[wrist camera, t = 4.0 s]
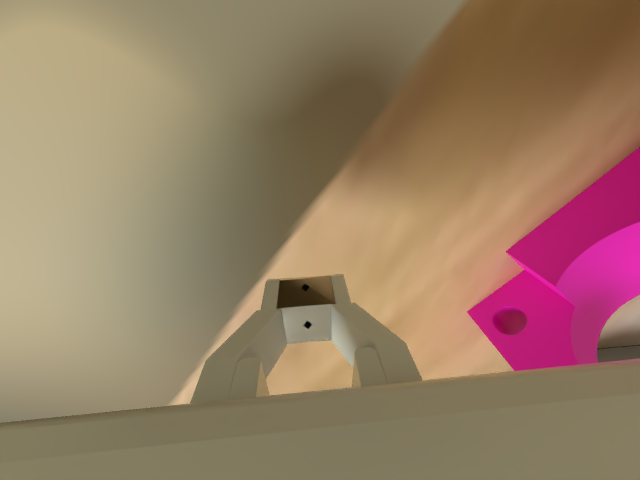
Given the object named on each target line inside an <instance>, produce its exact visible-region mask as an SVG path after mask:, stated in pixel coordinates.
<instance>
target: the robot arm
mask: <svg viewBox="0 0 640 480" xmlns="http://www.w3.org/2000/svg"><path fill="white" fill-rule="evenodd" d="M327 340H332V342H333V343H334V345H335V346H336V347H337V348H338V350H339V351H340V352H341V354H342V355H343V356H344V357H345V359H346V360H347V361H348V362H349V364H350V365H351V366H352V367H353V378H352V387H351V388H341V389H332V390H322V391H312V392H302V393H291V394H281V395H271V396H270V395H269V391H268V387H267V383H266V378H267V376H268V375H269V373H270V372H271V370H272V368H273V367H274V365H275V364H276V362H277V360H278V359H279V357H280V355H281V354H282V352H283V351H284V349H285V347H286V346H287V345H286V344H293V343H301V342H311V341H327ZM0 480H640V359H630V360H620V361H610V362H600V363H590V364H580V365H570V366H560V367H550V368H540V369H530V370H520V371H510V372H500V373H490V374H480V375H470V376H460V377H450V378H440V379H430V380H422V378H421V376H420V374H419V372H418V369H417V367H416V365H415V363H414V361H413V358H412V356H411V354H410V352H409V349H408V347H407V345H406V343H405V342H404V341H403V340H401V339H400V338H399V337H398V336H396V335H395V334H394V333H393V332H391V331H390V330H389V329H387V328H386V327H385V326H384V325H382V324H381V323H380V322H379V321H377V320H376V319H375V318H374V317H372V316H371V315H370V314H369V313H367V312H366V311H365V310H364V309H362V308H361V307H360V306H358V305H357V304H356V303H351V301H350V297H349V293H348V290H347V286H346V282H345V279H344V275H343V274H335V275H328V276H316V277H300V278H281V279H267V281H266V284H265V289H264V295H263V300H262V305H261V310H258V311H256V312H255V313H254V314H253V315H252V316H251V317H250V318H249V319H248V320H247V321H246V322H245V323H244V324H242V325H241V326H240V327H239V328H238V329H237V330H236V331H235V332H234V333H233V334H232V335H231V336H230V337H229V338H228V339H227V340H226V341H225V342H224V343H223V344H222V345H221V346H220V347H219V348H218V349H217V350H216V351H215V352H214V353H213V354H212V355H211V356H210V357H209V358H208V359H207V360H206V362H205V364H204V367H203V370H202V373H201V375H200V378H199V381H198V383H197V386H196V389H195V392H194V394H193V397H192V400H191V402H190V404H181V405H171V406H162V407H151V408H142V409H131V410H121V411H111V412H101V413H91V414H82V415H72V416H61V417H52V418H41V419H31V420H21V421H11V422H1V423H0Z"/></svg>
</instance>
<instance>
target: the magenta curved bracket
mask: <svg viewBox="0 0 640 480" xmlns="http://www.w3.org/2000/svg"><path fill="white" fill-rule="evenodd" d="M506 252H507V253H508V254H509V255H510V256H511V257H512V258H513V259H514V260H515V261H516V262H517V263H518V264H519V265H520V266H521V267H522V268H523V269H524V271H523V272H521V273H520V274H519V275H517V276H516V277H514V278H513V279H512V280H510V281H509V282H508V283H506V284H505V285H503V286H502V287H501V288H499V289H498V290H497V291H495V292H494V293H492V294H491V295H490V296H488V297H487V298H486V299H484V300H483V301H481V302H480V303H479V304H477V305H476V306H474V307H473V308H472V309H470V310H469V311H468V312H467V313H468V314H469V315H470V316H471V318H472V319H473V320H474V321H475V323H476V324H477V325H478V326H479V327H480V329H481V330H482V331H483V332H484V334H485V335H486V336H487V337H488V339H489V340H490V341H491V342H492V343H493V345H494V346H495V347H496V348H497V350H498V351H499V352H500V353H501V355H502V356H503V357H504V358H505V360H506V361H507V362H508V363H509V364H510V366H511V367H512V368H513V369H514V371H520V370H530V369H540V368H550V367H560V366H570V365H580V364H590V363H598V361H597V345H598V339H599V336H600V333H601V330H602V328H603V327H604V325H605V323H606V321H607V320H608V319H609V318H610V316H611V315H612V314H613V313H614V312H615V311H616V310H617V309H618V308H619V307H621V306H622V305H623V304H625V303H626V302H627V301H629V300H631V299H633V298H634V297H636V296H638V295H640V147H639V148H638V149H637V150H635V151H634V152H633V153H632V154H630V155H629V156H628V157H626V158H625V159H624V160H623V161H621V162H620V163H619V164H617V165H616V166H615V167H614V168H612V169H611V170H610V171H609V172H607V173H606V174H605V175H603V176H602V177H601V178H600V179H598V180H597V181H596V182H594V183H593V184H592V185H591V186H589V187H588V188H587V189H585V190H584V191H583V192H582V193H580V194H579V195H578V196H577V197H575V198H574V199H573V200H571V201H570V202H569V203H568V204H566V205H565V206H564V207H562V208H561V209H560V210H559V211H557V212H556V213H555V214H553V215H552V216H551V217H550V218H548V219H547V220H546V221H544V222H543V223H542V224H541V225H539V226H538V227H537V228H536V229H534V230H533V231H532V232H530V233H529V234H528V235H527V236H525V237H524V238H523V239H521V240H520V241H519V242H518V243H516V244H515V245H514V246H512V247H511V248H510V249H509V250H507V251H506Z"/></svg>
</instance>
